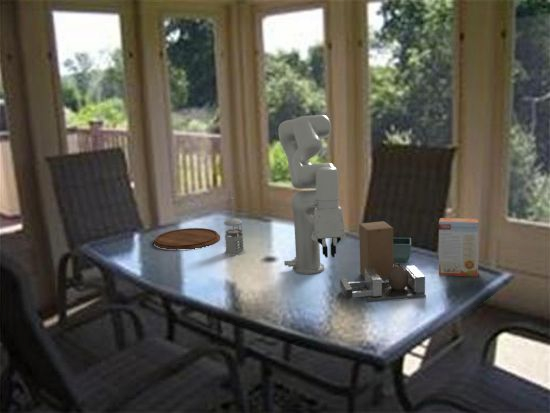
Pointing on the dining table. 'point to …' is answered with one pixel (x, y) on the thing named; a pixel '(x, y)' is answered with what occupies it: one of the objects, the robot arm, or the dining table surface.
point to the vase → (398, 277)
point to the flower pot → (401, 250)
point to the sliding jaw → (370, 281)
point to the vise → (411, 291)
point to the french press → (234, 237)
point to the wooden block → (376, 248)
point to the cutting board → (187, 238)
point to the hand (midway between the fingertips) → (329, 255)
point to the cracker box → (458, 247)
